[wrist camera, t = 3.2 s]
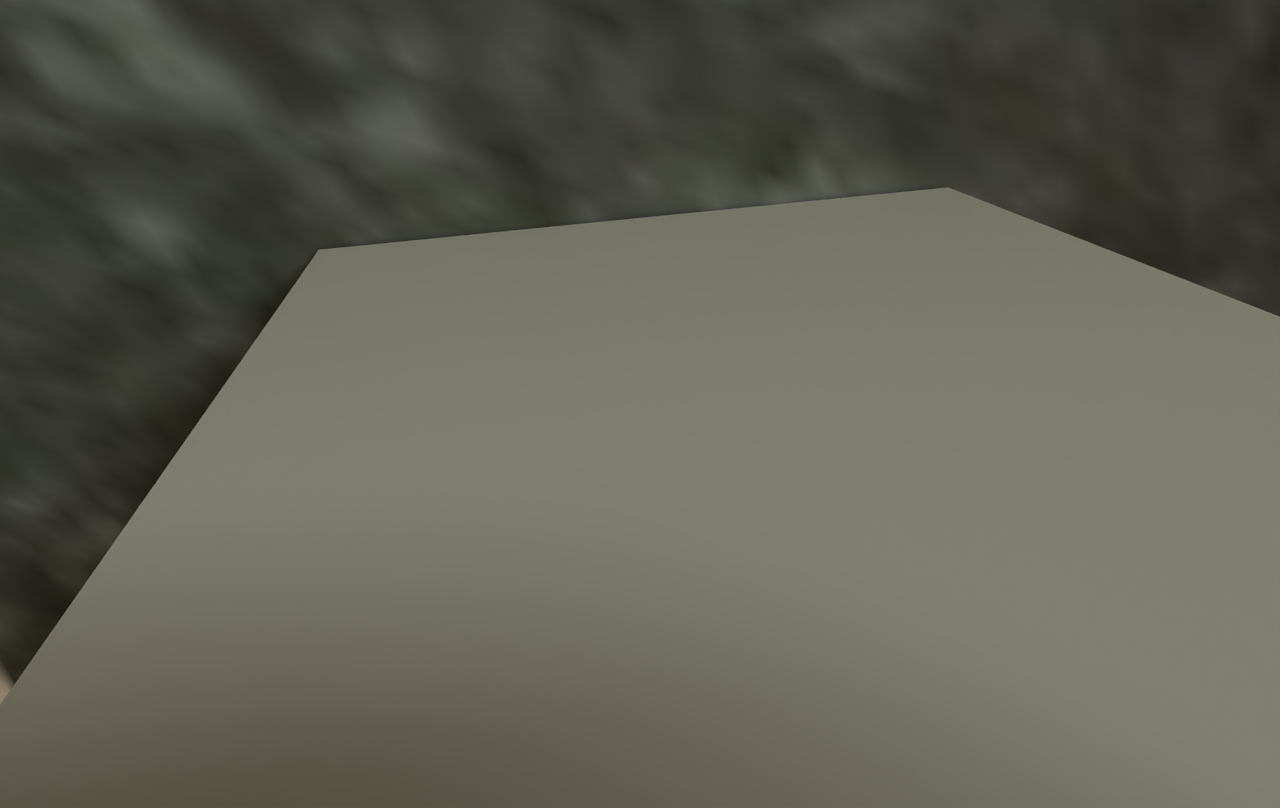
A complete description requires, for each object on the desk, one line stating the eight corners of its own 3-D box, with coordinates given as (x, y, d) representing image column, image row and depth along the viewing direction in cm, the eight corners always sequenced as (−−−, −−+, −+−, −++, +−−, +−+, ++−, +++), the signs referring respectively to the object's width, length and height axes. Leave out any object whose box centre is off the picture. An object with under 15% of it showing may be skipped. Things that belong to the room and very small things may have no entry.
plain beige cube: (902, 657, 14) (1436, 1492, 6) (430, 737, 13) (344, 1839, 5) (948, 187, 11) (2245, 694, 3) (318, 249, 10) (-395, 1267, 2)
